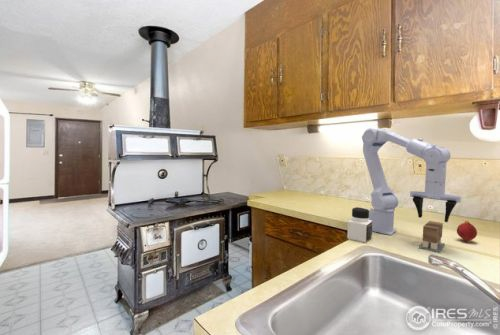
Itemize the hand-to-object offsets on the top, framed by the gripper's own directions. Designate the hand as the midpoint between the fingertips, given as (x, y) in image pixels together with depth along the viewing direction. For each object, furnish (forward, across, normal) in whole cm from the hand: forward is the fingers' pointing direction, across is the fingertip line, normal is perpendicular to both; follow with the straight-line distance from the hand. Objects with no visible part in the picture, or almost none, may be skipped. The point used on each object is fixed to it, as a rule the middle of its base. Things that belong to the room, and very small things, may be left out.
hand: (432, 219), depth 90 cm
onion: (+10, +8, +16) cm, 20 cm away
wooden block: (+7, 0, 0) cm, 7 cm away
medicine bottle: (+10, -21, -11) cm, 26 cm away
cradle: (+10, 0, 0) cm, 10 cm away
